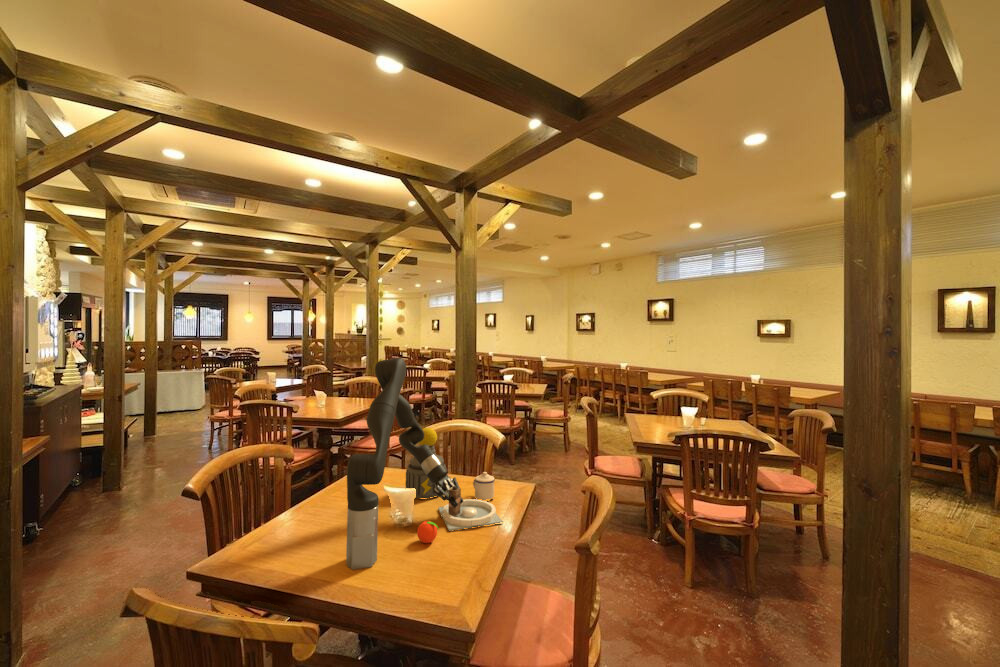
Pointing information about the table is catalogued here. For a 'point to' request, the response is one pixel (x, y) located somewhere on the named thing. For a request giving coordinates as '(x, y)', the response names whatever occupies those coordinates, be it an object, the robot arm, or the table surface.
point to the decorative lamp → (415, 472)
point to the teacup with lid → (484, 486)
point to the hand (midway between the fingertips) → (459, 504)
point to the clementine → (427, 532)
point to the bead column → (457, 496)
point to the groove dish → (470, 515)
